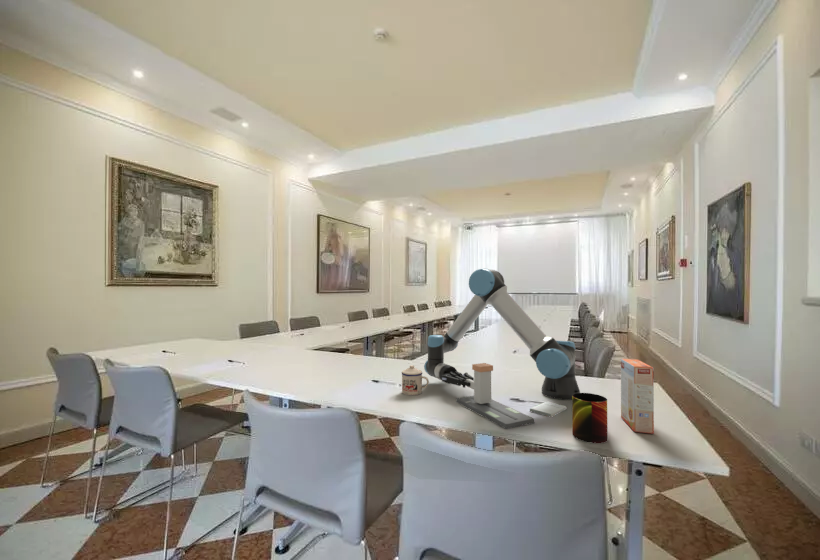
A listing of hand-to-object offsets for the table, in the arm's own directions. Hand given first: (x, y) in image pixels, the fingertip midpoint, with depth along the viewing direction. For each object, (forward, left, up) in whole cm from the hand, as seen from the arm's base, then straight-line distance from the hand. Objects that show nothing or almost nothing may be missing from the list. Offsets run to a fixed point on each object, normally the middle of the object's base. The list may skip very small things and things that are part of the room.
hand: (477, 386), depth 139 cm
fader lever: (-2, +1, -5) cm, 6 cm away
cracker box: (-51, +15, -8) cm, 54 cm away
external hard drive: (-26, +3, -8) cm, 27 cm away
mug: (-32, +24, -8) cm, 41 cm away
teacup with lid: (+25, -15, -8) cm, 30 cm away
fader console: (-5, +6, -7) cm, 11 cm away
